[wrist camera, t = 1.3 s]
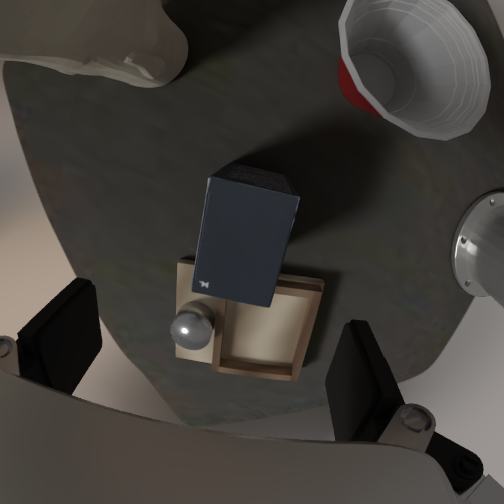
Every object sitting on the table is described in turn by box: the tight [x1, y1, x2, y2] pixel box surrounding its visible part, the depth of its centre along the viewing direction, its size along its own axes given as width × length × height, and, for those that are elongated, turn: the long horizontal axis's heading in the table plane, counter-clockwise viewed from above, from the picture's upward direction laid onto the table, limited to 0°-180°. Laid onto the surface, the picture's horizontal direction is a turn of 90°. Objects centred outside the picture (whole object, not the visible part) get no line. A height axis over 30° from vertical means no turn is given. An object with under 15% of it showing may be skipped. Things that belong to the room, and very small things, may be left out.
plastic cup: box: [338, 0, 491, 141], centre depth 19 cm, size 11×11×12 cm
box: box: [190, 162, 300, 308], centre depth 24 cm, size 8×6×11 cm
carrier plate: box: [171, 259, 325, 382], centre depth 32 cm, size 14×12×4 cm
